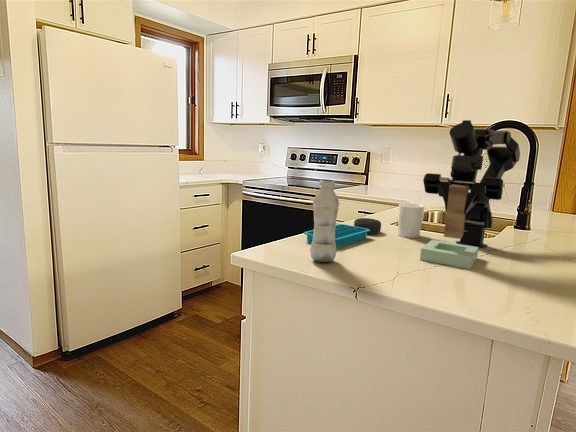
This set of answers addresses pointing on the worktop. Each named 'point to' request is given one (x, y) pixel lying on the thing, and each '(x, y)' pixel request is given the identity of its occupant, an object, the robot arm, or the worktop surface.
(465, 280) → the worktop surface
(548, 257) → the worktop surface
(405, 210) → the white cup
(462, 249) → the green square hole base
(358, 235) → the ice cube tray
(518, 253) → the worktop surface
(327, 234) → the plastic bottle
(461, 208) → the brown square peg
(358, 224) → the smart speaker
